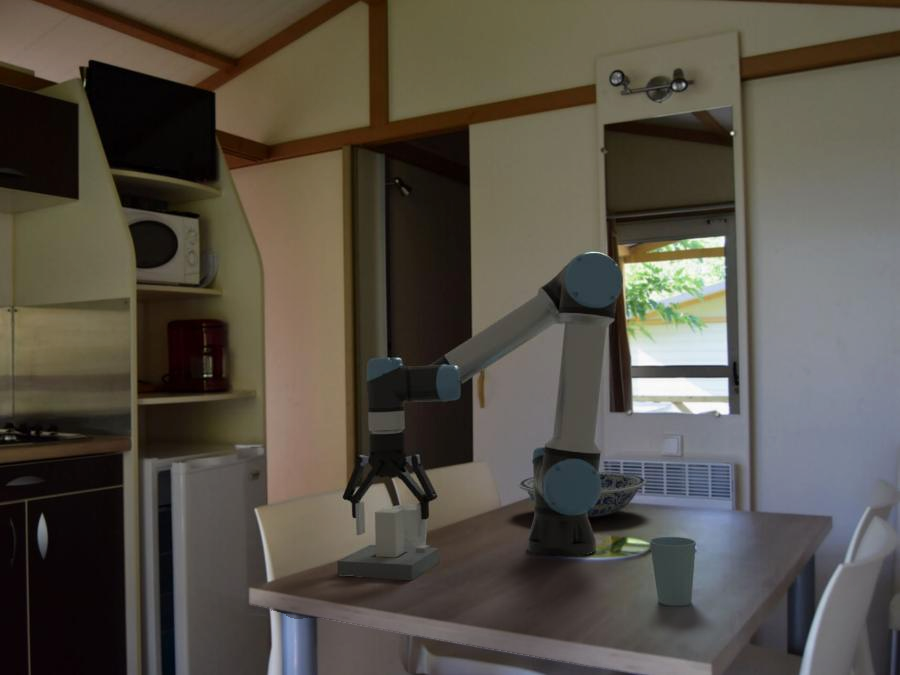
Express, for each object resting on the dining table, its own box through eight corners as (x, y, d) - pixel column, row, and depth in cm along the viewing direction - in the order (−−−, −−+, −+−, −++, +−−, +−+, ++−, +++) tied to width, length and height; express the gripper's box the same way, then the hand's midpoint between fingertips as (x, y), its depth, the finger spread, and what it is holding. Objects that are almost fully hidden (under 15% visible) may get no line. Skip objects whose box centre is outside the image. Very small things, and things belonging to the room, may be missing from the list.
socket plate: (439, 562, 182) (438, 544, 183) (412, 580, 167) (411, 560, 167) (370, 558, 188) (369, 541, 188) (337, 576, 172) (337, 557, 173)
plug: (404, 567, 179) (403, 509, 179) (396, 572, 175) (395, 512, 175) (384, 566, 180) (382, 508, 181) (376, 571, 176) (374, 512, 176)
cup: (642, 602, 148) (640, 541, 148) (668, 593, 153) (667, 534, 153) (679, 610, 142) (678, 547, 143) (706, 602, 147) (704, 540, 148)
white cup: (423, 555, 190) (422, 510, 190) (389, 554, 191) (388, 509, 191) (431, 548, 197) (430, 504, 198) (398, 547, 199) (397, 504, 199)
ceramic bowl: (493, 517, 235) (492, 481, 235) (573, 502, 258) (572, 468, 258) (594, 533, 210) (592, 492, 210) (672, 514, 233) (671, 477, 233)
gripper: (449, 429, 178) (453, 532, 177) (340, 431, 186) (344, 529, 185) (437, 432, 171) (441, 539, 170) (324, 434, 179) (328, 536, 178)
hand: (390, 534), depth 178 cm, fingers open, 13 cm apart
